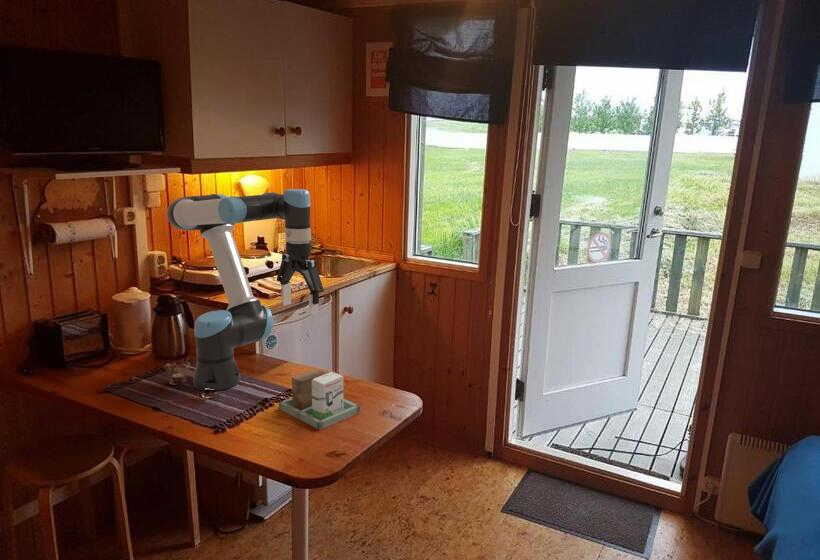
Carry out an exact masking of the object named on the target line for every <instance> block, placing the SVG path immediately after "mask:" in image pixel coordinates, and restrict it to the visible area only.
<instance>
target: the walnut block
mask: <svg viewBox="0 0 820 560" xmlns="http://www.w3.org/2000/svg"><path fill="white" fill-rule="evenodd" d="M325 374H327V373H326V372H324V371H322V370H319V369H317V368H314V369H311V370H308V371H305V372H302V373H299V374H297V375H293V376H291V393H292V395H291V396H292V397H291V398H292V400H293V407H294V408H296V409H298V410H300V411H301V410H303V409H306V408H308V407H311V406H312V380H313V379H314V378H317V377H319V376H322V375H325Z"/></svg>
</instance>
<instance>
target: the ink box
mask: <svg viewBox="0 0 820 560" xmlns="http://www.w3.org/2000/svg"><path fill="white" fill-rule="evenodd" d="M343 399H344V375H341V374H338V373H336V372H335V371H329V372H328V373H326V374H325V375H322V376H319V377H317V378H314V379H313V380H312V417H314V418H316V419H318V420H320V421H321V420H323V419H325V418H328V417H330V416H332V415H335V414H337V413H339V412H341V411H344V403H343Z"/></svg>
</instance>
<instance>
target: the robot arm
mask: <svg viewBox="0 0 820 560" xmlns="http://www.w3.org/2000/svg"><path fill="white" fill-rule="evenodd" d="M311 204H312V203H311V196H310V191H308V190H307V189H305V188H300V189H299V188H289V189H285V190H284V192H283V193H278V192H273V191H271V192H264V193H262V194H255V195H254V194H253V195H244V196H243V195H242V196H226V195H225V194H223V193H222V194H218V193H217V194H215V193H211V194H204V195H202V194H201V195H192V196H182V197H178V198H176V199H175V200H173V201H172V202H171V203H170V204H169V205H168V207H167V210H166V217H167V221H168V222H169V224H170V225H171V226H172V227H174V229H175V228H176V229H177V230H180V231H185V232H186V231H188V232H190V231H199V233H200V237H202V238H203V239H205V240H207V242H208V244H209V248H210V251H211V254H212V257H213V260H214V264H215V266H216V269H217V272H218V275H219V279H220V281H221V284H222V287H223V290H224V293H225V297H226V298H227V299H226V300H227V303H228V305H227V308H226V310H223V309H218V310H211V311H207V312H206V313H203V314H201V315H199V316H198V317H197V318H196V320H195V321H194V329H193V331H194V332H193V335H194V340H195V341H194V342H195V351H196V364H195V369H194V372H193V377H192V385H193V387H194V388H195V389H197V390H200V391H205V390H204V389H205V388H210V389H215V390H216V391H221V390H226V389H227V390H228V389H230V388H232V387H235V386H236V385H238V384H239V383H240V382H241V380H242V379H241V371H240V369H239V367H238V364H237V363H236V360H235V357H234V356H235V355H234V354H235V353H234V349H235V348H238V347H242V346H245V345H249V344H252V343H259V342H260V341H262V340H264V339H267V338H269V336H270V335H271V334H272V331H273V327H274V319H273V314H272V310H271V309H270V308H269V307H268V306H267V305H263V304H262V303H261V301H260V298H257V297H255V296H254V294H253V290H252V288H251V285H250V282H249V279H248V276H247V273H246V270H245V267H244V264H243V261H242V258H241V255H240V252H239V250H238V249H239V248H238V247H237V243H236V241H235V237H234V234H233V232H234V230H235V228H236V227H235V224H241V223H247V222H253V221H255V222H256V221H265V220H274V219H280V220H284V227H285V229H284V230H285V231H284V232H285V241H286V242H285V253H283V254H281V263H280V265H279V266H280V267H279V269H278V273H277V276H276V282H279V284H280V285H281V295H282V300H281V301H282V306H288V305H291V304H292V291H291V280H292V277H293V276H294V275H295V272H296V273H299V274H300V275H301V276H302V277H303V279H304V281H305V283H306V285H307V288H308V289H309V291H310V292H309V293H308V298H309V299H308V303H309V304H308V306H309V308H308V309H309V310H308V311H309V316H313V315H316V314H317V315H318V314H319V303H320V299H319V298H320V295H319V294H320V293H323V292H324V291H325V290H324V286H323V284H322V281H321V277H320V274H319V271H318V267H317V260H315V259H312V260H310V258H309V256H310V255H311V253H312V243H311V240H312V230H311Z"/></svg>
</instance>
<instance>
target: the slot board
mask: <svg viewBox="0 0 820 560" xmlns="http://www.w3.org/2000/svg"><path fill="white" fill-rule="evenodd" d="M343 403H344V411H341V412H339V413H337V414H335V415H332V416H330V417H328V418H325V419H323V420H321V421H320V420H318V419H316V418H314V417H312V406H311V407H308V408H306V409H303V410H301V411H300V410H298V409H296V408H294V407H293V400H292V397H289V398H288V399H284V400H282V401H280V402H278V409H279V410H280V411H283V412H284V413H286V414H287V415H288V414H289V415H290V416H292V417H294V418H296V419H298V420H300V421H302V422H304V423H306V424H307V425H310V426H312V427H314V429H317V430H319V431H321V430H323V429H326V428H328V427H330V426H332V425H335V424H337V423H339V422H342V421H344V420H346V419H348V418H350V417H353V416H355V415H357V414H359V413H361V405H358V404H357V403H354V402H352V401H350V400H348V399H345V398H343Z"/></svg>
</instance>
